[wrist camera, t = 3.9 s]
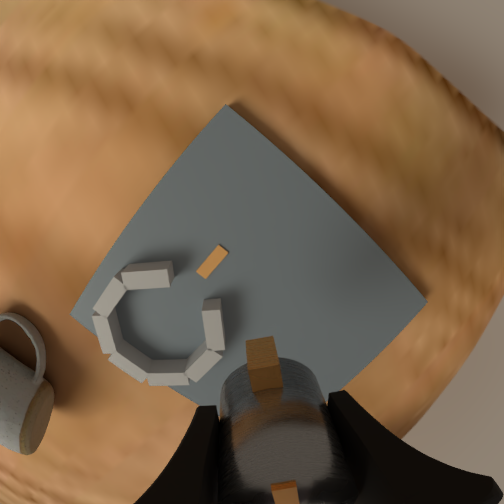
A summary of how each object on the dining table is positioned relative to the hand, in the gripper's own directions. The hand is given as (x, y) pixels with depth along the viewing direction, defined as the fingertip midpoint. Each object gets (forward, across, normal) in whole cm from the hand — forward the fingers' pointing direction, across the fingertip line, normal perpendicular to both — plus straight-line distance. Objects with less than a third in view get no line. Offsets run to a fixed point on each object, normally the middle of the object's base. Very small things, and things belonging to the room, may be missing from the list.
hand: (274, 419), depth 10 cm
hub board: (+9, 0, 0) cm, 9 cm away
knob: (+1, 0, 0) cm, 1 cm away
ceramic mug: (+10, +20, +4) cm, 23 cm away
